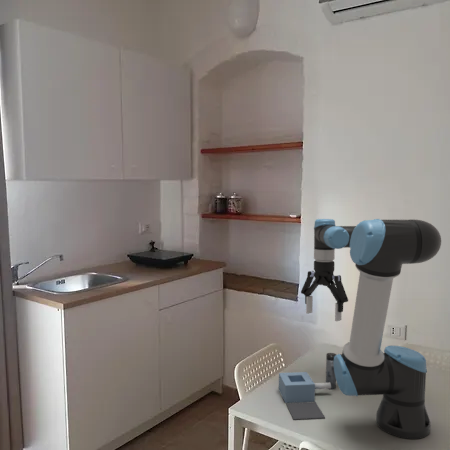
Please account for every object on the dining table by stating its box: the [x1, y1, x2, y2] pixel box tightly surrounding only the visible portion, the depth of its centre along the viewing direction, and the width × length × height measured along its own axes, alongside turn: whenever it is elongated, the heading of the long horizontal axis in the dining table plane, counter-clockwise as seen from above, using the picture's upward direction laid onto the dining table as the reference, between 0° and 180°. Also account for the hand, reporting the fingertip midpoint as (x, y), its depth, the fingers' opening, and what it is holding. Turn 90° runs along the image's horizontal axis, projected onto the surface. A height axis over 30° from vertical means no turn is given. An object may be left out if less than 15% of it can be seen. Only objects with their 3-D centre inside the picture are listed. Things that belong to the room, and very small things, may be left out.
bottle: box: [325, 352, 337, 391], centre depth 160 cm, size 4×4×12 cm
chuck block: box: [278, 371, 331, 404], centre depth 155 cm, size 10×17×6 cm, turn 96°
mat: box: [285, 401, 326, 421], centre depth 144 cm, size 10×10×1 cm
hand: (323, 316), depth 169 cm, fingers open, 13 cm apart
